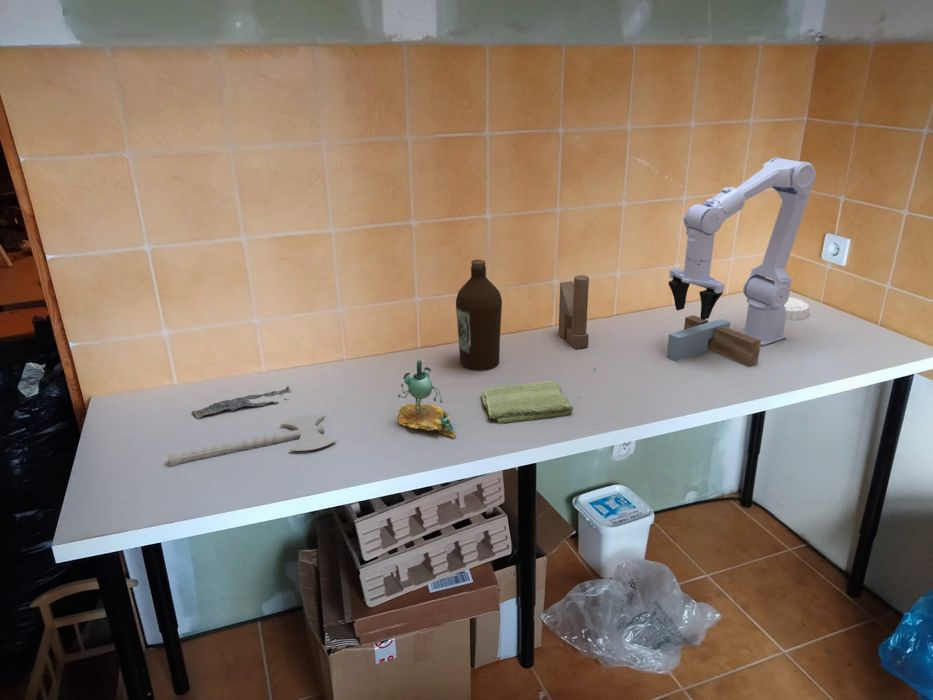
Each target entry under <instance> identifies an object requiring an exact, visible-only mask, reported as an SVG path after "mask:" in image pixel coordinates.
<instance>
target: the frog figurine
mask: <svg viewBox="0 0 933 700" xmlns="http://www.w3.org/2000/svg"><path fill="white" fill-rule="evenodd" d="M422 364H423V362H422V359H418V360H417V362H416V373H414V374H413V376H411V375H410V374H411V373H410V372H406V373H405V374H404V376H403V380H404V383H401V384H400V387H401V389H402V394H406V395H405V396H402V395H401V393H398V395H397V397H398V398H403V399H406V398H407V397H408V395H409V394H410V396H412V397H413V398H414V399H415V404H414V403H407V404H403V405H402V406H401V408H400V409H399V410H398V418H397V420H398V423H399V425H402V426H404V427H409V428H411V429H414V430H418V429H420V430H421V429H422V430H424V431H434V430H437V433H438V434H441V435H444V436H445V437H449V438H452V439H455V438H456V437H457V433H456V432H455V431H454V428H453V427H454V426H453V424H452V423H451V418H450V416H449V414H448V413H447V411H445V410H443V409H442V407H439V406H435V405H434V404H430V403H429V404H425V403H423V404H422V403H421V402H422V400H423V399H427V398H428V397H429V396H430V395H431V394H432V391H433V390H434V392H435V393H436V394H435V397H433V401H434V402H436V401H437V397H438V396H439V398H440V400H439V401H440V403H441V404H443V400H442V397H441V392H440V389H438V388H437V387H435V386H433V382H432V381H431V379H430V373H429V372H432V370H431V368H429V367H428V366H426V367H424V368H423V367H422V366H423V365H422ZM422 368H423V369H424V371H422ZM404 385H406V386H407V388H408V390H406V391H404ZM438 394H439V395H438ZM443 426H444V427H443Z"/></svg>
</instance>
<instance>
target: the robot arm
mask: <svg viewBox="0 0 933 700" xmlns="http://www.w3.org/2000/svg"><path fill="white" fill-rule="evenodd" d="M816 178H817V172H816V169H815V167H814V166H813V164H812V163H811V162H808V161H798V160H794V159H793V160H792V159H787V158H781V157H778V156H777V157H773V158H771V159H770V160H769V161H767V162H766V161H765V163H763V165H762V168H761V169H760V170H759V171H757V172H756V173H755V174H753V175H752V176H750V178H748V179H747V180H745V181H744V182H743V183H741V184H740V185H739V186H737V187H733V186H729V187H723V188H722V189H721V192H719V193H717V194H715V195H714V196H713V197H710V198H708V199H705V202H704V203H702V204H700V203H699V204H698V203H696V204H694V205H692V206H690V207H689V208H688V210H687V211H686V212H685V213H686V214H685V216H683V224H684V226H685V228H686V230H685V231H686V232H685V233H686V236H687V239H686V241H687V242H686V250H685V260H684V266H683V267H684V268H683V269H684V270H683V269H678V268H673V269H669V275H668V276H669V279H671V280H669V281H668V286H669V288H670V291H671V292H672V296H673V300H674V306H675V310H676V311H681V310H685V306H686V300H687V295H688V290H689V287H690V285H695V286H697V287H700V288H703V289H704V290H701V291H699V298H700V307H701V308H700V318H701V319H702V320H705V319H706V320H709V319H710V316H711V314H712V311H713V309H714V307H715V305H716V304H717V301H718V300H719V299H720V297H721V296H722V295H723V294H724V290H725V283H723V282H720V280H717V279H715V278H713V277H711V275H710V274H711V268H712V259H713V258H712V257H713V251H714V250H713V249H714V244H715V243H714V242H715V235H716V233H717V232H718V231H719V230H720V229H721V228H722V225H723V223H724V222H726V220H727V219H728V218H730V217H731V216H733V215H734V214H736V213H738V212H739V211H741V210H742V209H743V208H744V206H745V202H746V201H747V200H749V199H751V198H754V197H755V196H756V195H758V194H760V193H762V192H764V191H766V190H767V189H769V188H771V189H773V190H774V191H775V192H776V193H778V195H779V197H780V199H781V204H780V208H779V210H778V214H777V216H776V220H775V223H774V225H773V228H772V229H773V230H772V231H771V232H772V233H771V236H770V238H769V242H768V245H767V247H766V250H765V254H764V256H763V260H762V263H760V264H759V265H758V266H756V267H754V268H752V270H751V273H750V275H749V276H748V278H747V279H746V281H745V282H744V285H743V295H744V296H745V297H746V302H747V303H748V307H747V311H746V313H747V314H746V319H745V325H744V331H743V332H741V333H743V334H746V335H749V336H751V337H754V338H757V339H759V340H761V344H760V346H762V347H763V346H765V345H769V344H771V343H775V342H777V341H780V340H784V339H786V338H787V336H786V335H784V331H785V326H786V325H785V324H786V321H787V320H786V314H787V313H786V309H785V307H784V305H785V303H786V302H787V301H788V299H789V297H790V295H791V289H790V288H791V285H792V284H791V283H792V281H793V280H792V278H791V277H790V276H789V274H788V272H787V270H786V268H787V265H788V262H789V259H790V256H791V254H792V250H793V247H794V243H795V241H796V238H797V234H798V233H799V232H798V231H799V229H800V226H801V224H802V220H803V217H804V214H805V211H806V208H807V205H808V202H809V199H810V196H811V193H812V189H813V186H814V183H815V180H816Z"/></svg>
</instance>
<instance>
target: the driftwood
mask: <svg viewBox="0 0 933 700" xmlns="http://www.w3.org/2000/svg"><path fill="white" fill-rule="evenodd" d="M287 393H291V390H290V386H286V388H284V389H282V390H274V391H271V392H266V393H263V394H249V395H246V396H243V397H242V396H241V397H236V398H233V399H226V400H221V401H218V402H214V403H213V404H209V406H206V407H203V408H202V409H198V410H193V411H192V413H193V415H194V416H195V418H196V419H198V420H199V419H201V418H202V417H204V416H208V415H211V414H216V413H220V412H222V411H225V410H229V409H230V410H231V412H234V411H235V410H237V409H240V408H242V407H245V406H246V407H260V406H266V405H268V404H271V403H272V404H277V405H279V403H280V402H279V401H273V400H272V401H269V402H266V401H262V402H258V403H253V402H251V401H250V400H255V399H258V398H262V397H271V398H272V397H275V396H278V395H279V396H281V397H283V395H284V394H287ZM288 400H290V398H284V399H283V401H288Z"/></svg>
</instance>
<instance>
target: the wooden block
mask: <svg viewBox="0 0 933 700" xmlns="http://www.w3.org/2000/svg"><path fill="white" fill-rule="evenodd" d="M589 284H590V277H589V276H587V275H582V274H580V275H575V276H574V277H573V281H561V282H560V283H559V304H558V305H559V307H558V308H559V310H558V335H559V336H560V337H561V338H562V339H566V342H567V343H568V344H569V345H571V347H573V348H574V350H575V349H576V350H577V349H583V348H588V347H589V338H590V337H589V336H590V335H589V333H587V328H588V327H587V321H588V307H589V306H588V305H589V304H588V303H589Z"/></svg>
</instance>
